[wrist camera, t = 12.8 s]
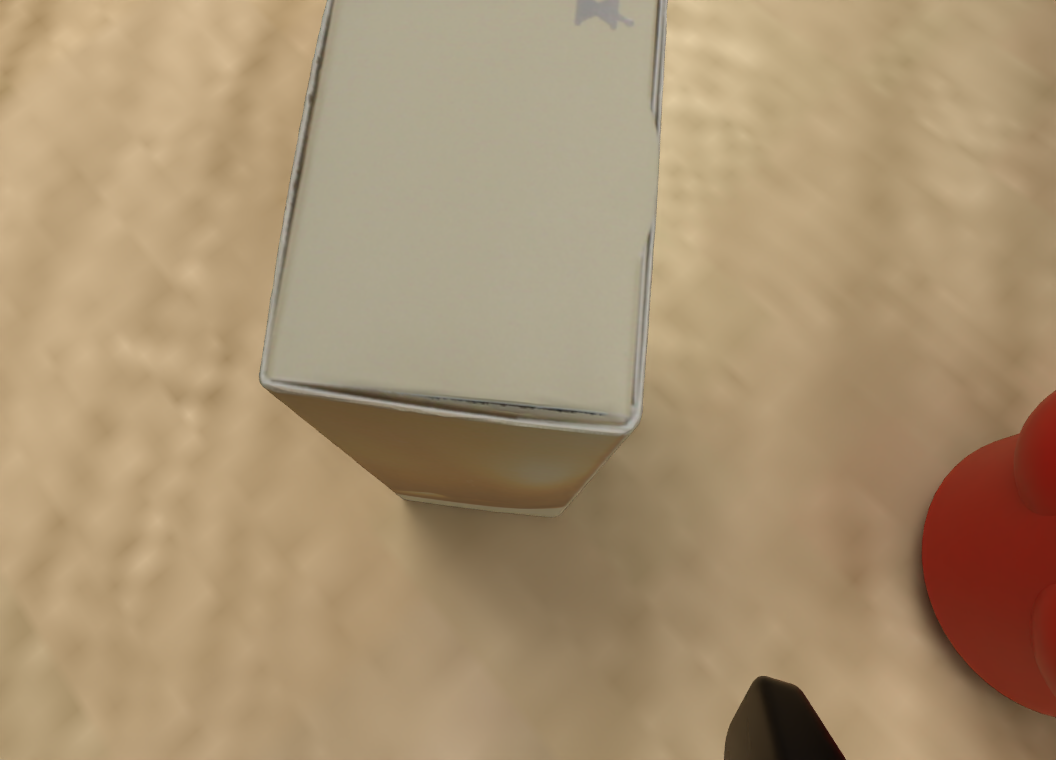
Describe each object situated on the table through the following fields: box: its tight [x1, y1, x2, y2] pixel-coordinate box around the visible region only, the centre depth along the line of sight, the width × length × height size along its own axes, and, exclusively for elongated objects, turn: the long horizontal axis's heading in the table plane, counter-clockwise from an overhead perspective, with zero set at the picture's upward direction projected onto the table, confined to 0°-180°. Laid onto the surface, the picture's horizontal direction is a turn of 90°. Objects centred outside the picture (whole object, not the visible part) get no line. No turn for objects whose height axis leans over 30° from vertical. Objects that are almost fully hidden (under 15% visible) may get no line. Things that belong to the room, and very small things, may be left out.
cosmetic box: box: [259, 0, 668, 517], centre depth 15 cm, size 6×4×12 cm
